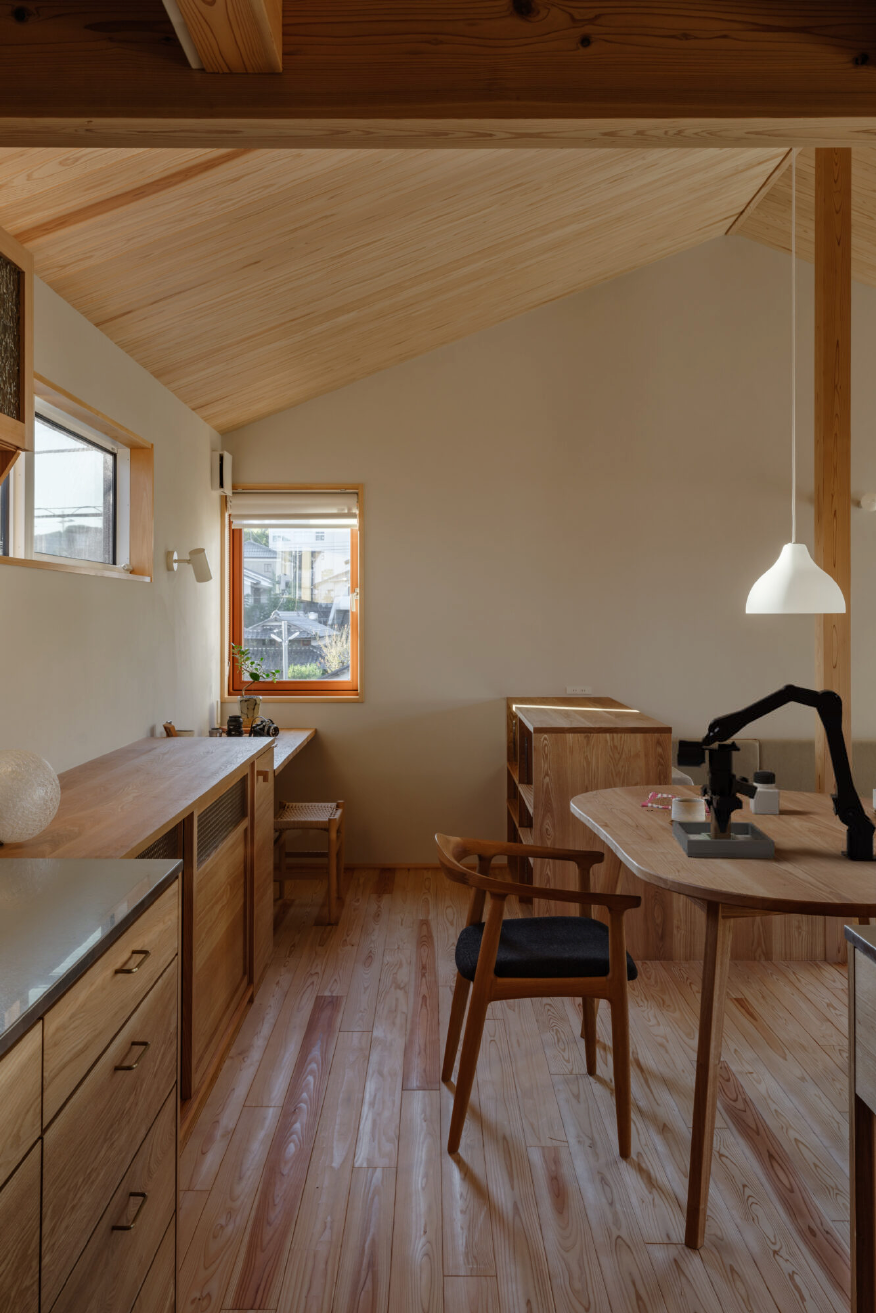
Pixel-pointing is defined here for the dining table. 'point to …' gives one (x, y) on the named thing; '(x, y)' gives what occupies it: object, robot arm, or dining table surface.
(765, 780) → the medicine bottle
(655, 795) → the dish towel
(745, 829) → the walled box
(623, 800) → the dining table surface
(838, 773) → the robot arm
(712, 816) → the peg
